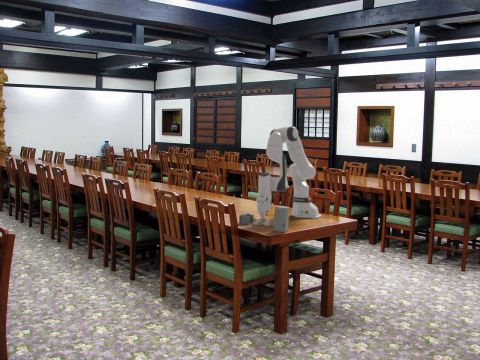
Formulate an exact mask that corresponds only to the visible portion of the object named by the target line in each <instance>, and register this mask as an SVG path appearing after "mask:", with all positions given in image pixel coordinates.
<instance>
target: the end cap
mask: <svg viewBox="0 0 480 360" xmlns="http://www.w3.org/2000/svg"><path fill="white" fill-rule="evenodd" d="M254 217H255V214H251V213H250V212H244V213H241V214H240V215H239V220H238V221H239V225H251V223H252V224H253V218H254Z"/></svg>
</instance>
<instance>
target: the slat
mask: <svg viewBox="0 0 480 360" xmlns="http://www.w3.org/2000/svg"><path fill="white" fill-rule="evenodd" d="M273 224H274V218H270V217H269V218H267V217H264V219H261V217H259V216H257V217H256V216H254V218H253V223H252V225H256V226H266V227H273Z"/></svg>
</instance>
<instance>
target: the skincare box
mask: <svg viewBox="0 0 480 360" xmlns="http://www.w3.org/2000/svg"><path fill="white" fill-rule="evenodd" d="M273 212H274V213H273V214H274V215H273V219H274V224H273V226H272V231H273V232H277V233H279V232H280V233H286V232H288V231H289V221H290V206H284V205H275V206H274V211H273Z"/></svg>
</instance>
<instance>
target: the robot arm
mask: <svg viewBox="0 0 480 360" xmlns="http://www.w3.org/2000/svg"><path fill="white" fill-rule="evenodd" d="M285 143H286V149H287V152H288V155H289V158H290V160H291V161H292V162H293V163H292V164H290V166H289V167H288V165H287V163H288V162H287V157H286V155H285V154H284V152H283V148H284V144H285ZM265 151H266V152H265V154H266V156H267V158H268V159H269V160H271V161H272V162H275V163H276V164H277V163H278V164H279V171H280V172H279V173H280V174H279V175H280V176H276V177H275V176H271V175H272V174H271V173H269V172H261V173H260V174H259V176H258V183H257V185H258V191H257V197H256V199H255V200H256V209H257V213H258V214H259V215H260V218H261V219H264V218H265V217H269V213H270V212H269V211H270V210H271V208H272V192H279V193H284V192H285V191H287V189H288V187H289V183H288V182H289V181H288V173H289V175H290V176H291V179H292V182H293V183H292V184H293V197H292V208H291V209H292V210H291V212H290V215H291V216H292V217H295V218H302V219H303V218H307V219H319V218H322V214H321V213H319V208H318V207H317V206H316V205H315V204H314V203H313V202H312V197H310V196H309V193H310V192H309V191H310V186H309V185H308V183H307V181H306V180H311V179H313V178H314V177H315V176H316V173H317V171H316V168H315V167H314V166H313V165H312V163H311V162H310V160H309V159H308V157H307V156H306V153H305V149H304V147H303V143H302V140H301V138H300V135H299V130H298V128H297V127H295V126H283V127H279V128H274V129H272V130H271V132H270V133H269V137H268V140H267V145H266V150H265Z"/></svg>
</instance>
